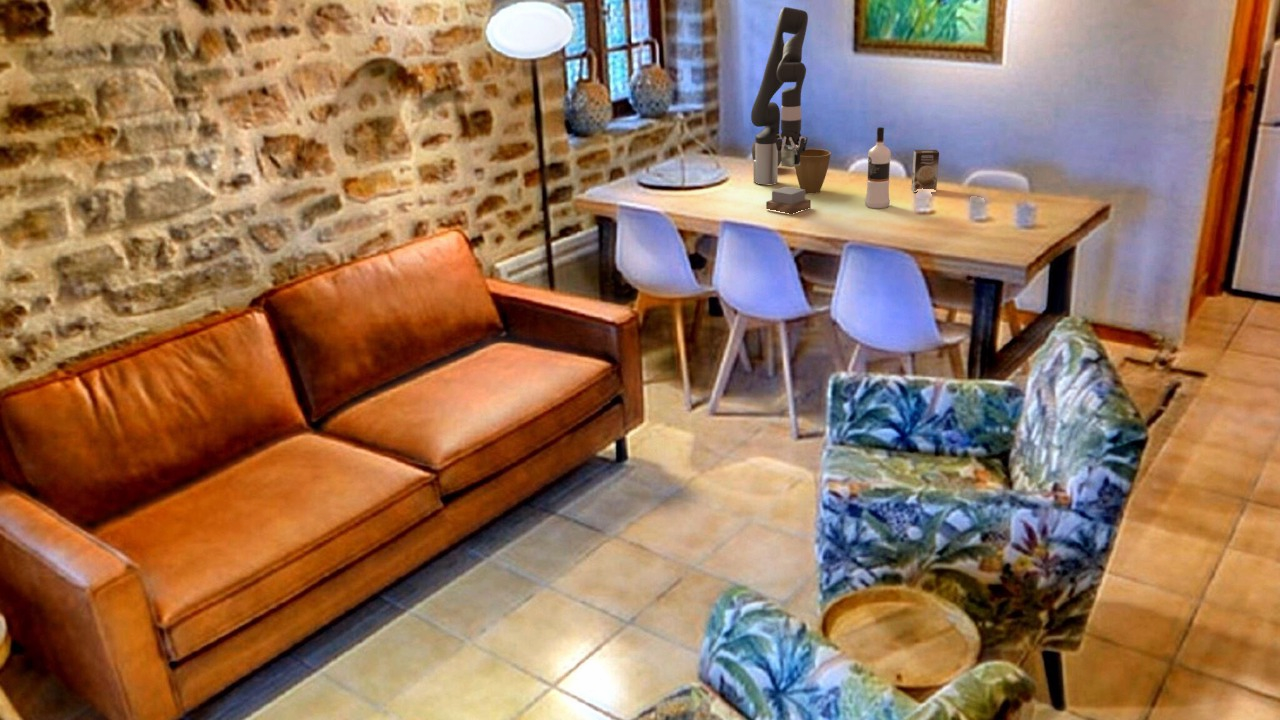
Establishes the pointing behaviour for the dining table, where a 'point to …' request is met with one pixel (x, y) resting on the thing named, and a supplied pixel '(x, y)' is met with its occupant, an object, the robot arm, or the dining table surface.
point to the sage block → (788, 157)
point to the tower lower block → (789, 206)
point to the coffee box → (925, 169)
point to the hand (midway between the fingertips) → (790, 163)
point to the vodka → (878, 174)
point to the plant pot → (812, 169)
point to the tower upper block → (788, 195)
